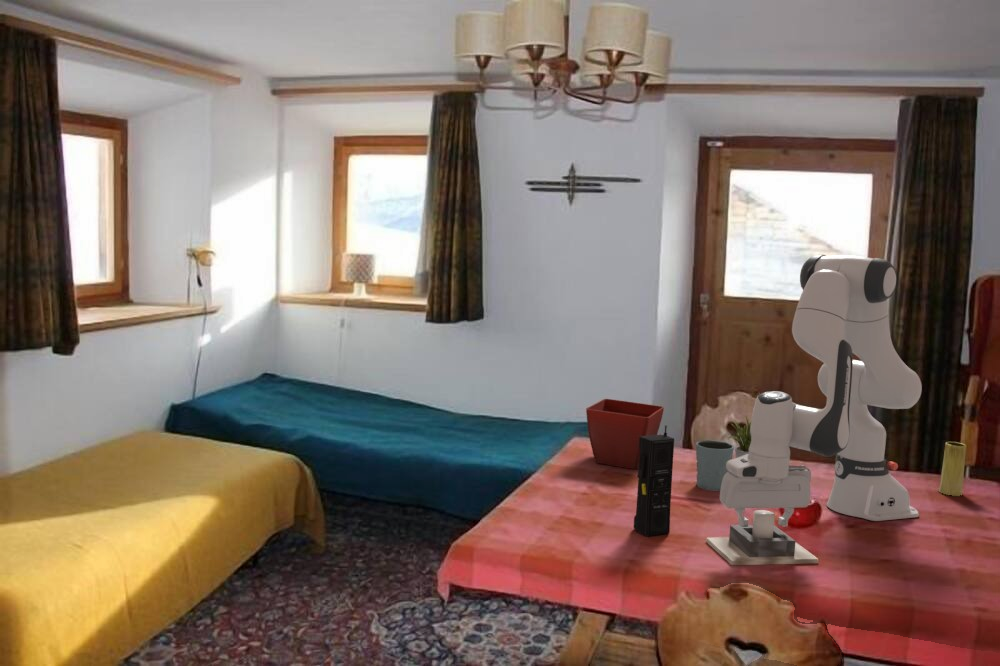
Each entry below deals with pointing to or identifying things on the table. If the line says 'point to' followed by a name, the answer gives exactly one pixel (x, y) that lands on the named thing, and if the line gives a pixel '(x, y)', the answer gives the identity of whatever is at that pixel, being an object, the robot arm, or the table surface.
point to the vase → (953, 469)
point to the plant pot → (621, 430)
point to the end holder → (759, 548)
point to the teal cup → (712, 463)
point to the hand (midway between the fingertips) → (762, 526)
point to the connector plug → (763, 524)
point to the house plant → (744, 446)
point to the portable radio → (654, 484)
